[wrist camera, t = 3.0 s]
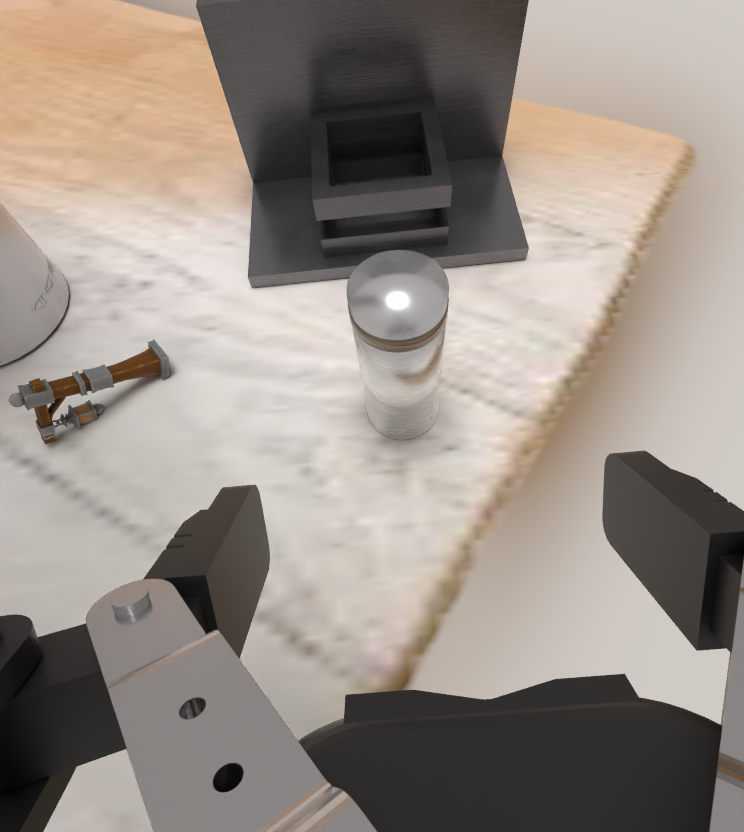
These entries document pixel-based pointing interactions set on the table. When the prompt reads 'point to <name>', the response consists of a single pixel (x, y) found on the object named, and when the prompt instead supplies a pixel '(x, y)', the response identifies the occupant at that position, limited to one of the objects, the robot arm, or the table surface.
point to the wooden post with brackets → (85, 389)
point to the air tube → (399, 338)
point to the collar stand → (371, 129)
